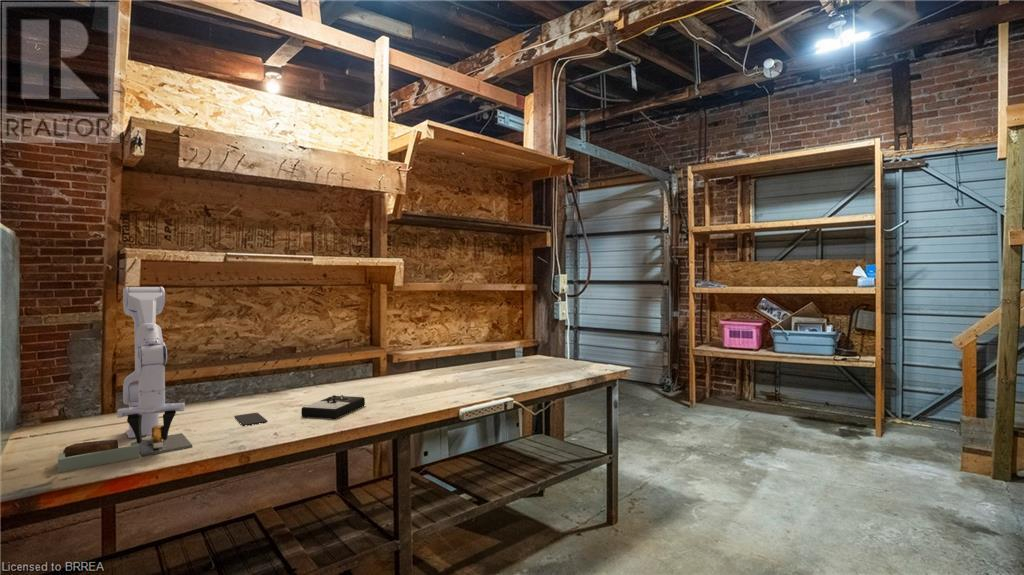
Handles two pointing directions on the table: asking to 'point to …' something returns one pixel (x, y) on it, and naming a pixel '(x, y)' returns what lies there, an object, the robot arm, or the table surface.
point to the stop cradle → (97, 457)
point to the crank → (156, 436)
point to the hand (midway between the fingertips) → (152, 440)
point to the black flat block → (333, 407)
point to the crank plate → (165, 445)
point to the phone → (250, 419)
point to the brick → (90, 447)
